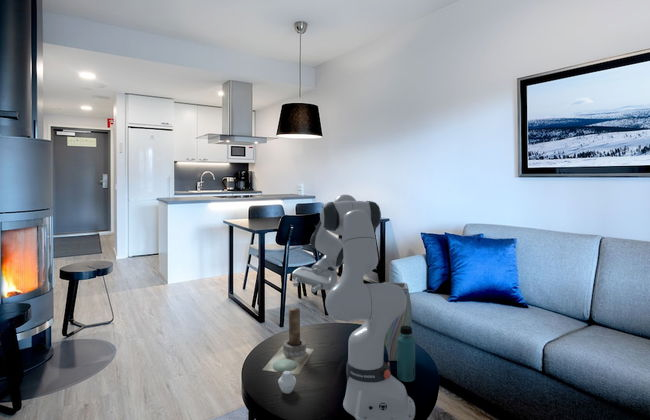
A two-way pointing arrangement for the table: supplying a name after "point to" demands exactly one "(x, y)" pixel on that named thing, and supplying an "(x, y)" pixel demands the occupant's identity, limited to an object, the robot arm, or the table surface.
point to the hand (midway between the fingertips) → (303, 288)
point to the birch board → (291, 356)
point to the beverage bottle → (406, 355)
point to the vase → (398, 324)
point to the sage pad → (284, 365)
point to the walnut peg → (294, 326)
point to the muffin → (287, 382)
